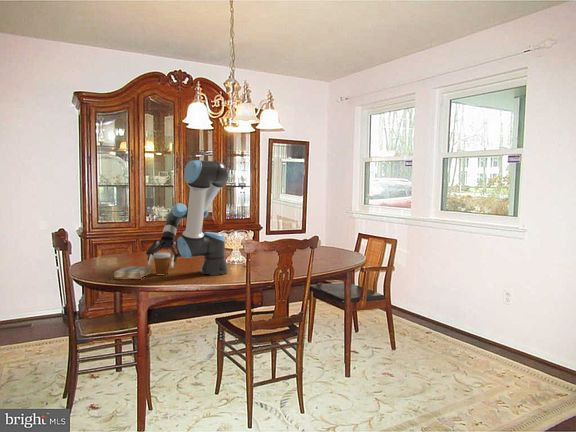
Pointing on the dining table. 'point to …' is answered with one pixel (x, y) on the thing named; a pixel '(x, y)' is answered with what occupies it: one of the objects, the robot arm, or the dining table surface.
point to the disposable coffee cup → (162, 262)
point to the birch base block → (132, 272)
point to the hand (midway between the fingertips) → (160, 266)
